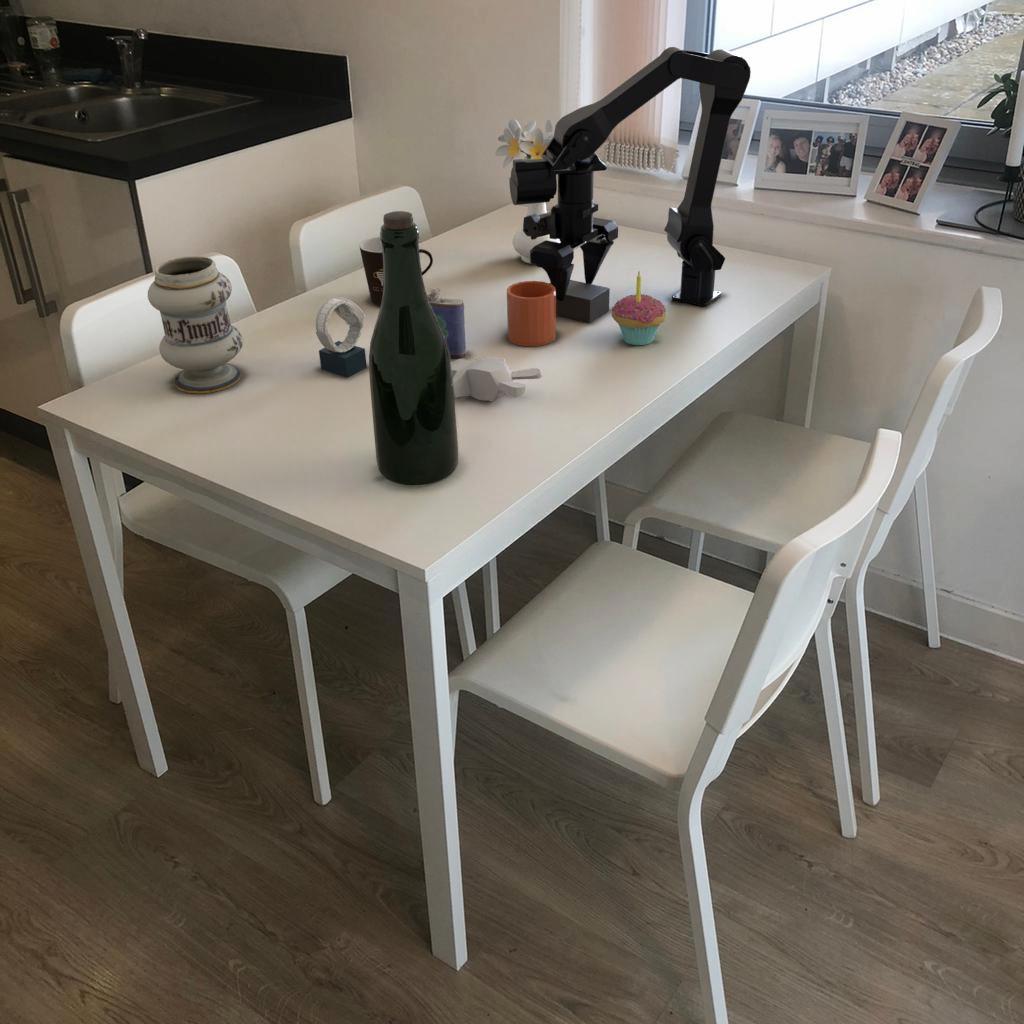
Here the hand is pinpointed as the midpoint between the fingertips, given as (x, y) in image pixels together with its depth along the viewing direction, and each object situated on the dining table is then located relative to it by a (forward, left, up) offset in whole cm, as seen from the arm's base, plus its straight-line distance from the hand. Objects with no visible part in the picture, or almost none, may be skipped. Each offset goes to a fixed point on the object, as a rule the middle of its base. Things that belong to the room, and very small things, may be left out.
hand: (574, 292), depth 180 cm
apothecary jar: (+52, -33, -4) cm, 62 cm away
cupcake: (+5, +15, -4) cm, 16 cm away
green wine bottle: (+56, +11, -4) cm, 57 cm away
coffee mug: (+12, -29, -4) cm, 32 cm away
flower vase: (-19, -19, -4) cm, 27 cm away
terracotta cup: (+13, 0, -3) cm, 13 cm away
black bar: (0, 0, -3) cm, 3 cm away
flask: (+26, -9, -4) cm, 28 cm away
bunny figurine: (+34, +6, -4) cm, 35 cm away
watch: (+38, -18, -4) cm, 42 cm away
